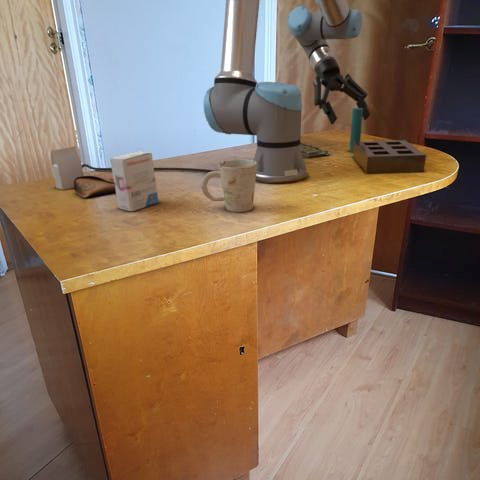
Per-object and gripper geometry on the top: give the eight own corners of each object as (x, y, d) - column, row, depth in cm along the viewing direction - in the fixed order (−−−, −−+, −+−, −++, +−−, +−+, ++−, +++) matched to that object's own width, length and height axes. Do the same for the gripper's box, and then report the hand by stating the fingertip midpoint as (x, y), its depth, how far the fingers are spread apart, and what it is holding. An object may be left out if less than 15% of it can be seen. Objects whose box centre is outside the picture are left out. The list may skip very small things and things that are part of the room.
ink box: (145, 199, 121) (138, 149, 115) (159, 202, 118) (153, 151, 113) (117, 208, 116) (109, 156, 110) (131, 212, 113) (123, 158, 107)
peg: (350, 152, 161) (353, 109, 154) (348, 150, 163) (351, 108, 157) (360, 152, 161) (363, 109, 154) (358, 150, 163) (361, 107, 157)
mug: (257, 213, 109) (257, 167, 104) (201, 215, 109) (197, 169, 104) (257, 202, 116) (256, 158, 111) (204, 203, 116) (201, 160, 111)
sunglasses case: (84, 197, 123) (75, 171, 123) (79, 206, 129) (71, 181, 129) (150, 185, 131) (142, 160, 131) (143, 193, 137) (135, 170, 137)
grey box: (85, 184, 136) (78, 147, 131) (62, 189, 132) (54, 151, 127) (78, 182, 139) (71, 145, 134) (56, 187, 135) (47, 149, 130)
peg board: (366, 173, 136) (367, 156, 134) (352, 156, 155) (354, 141, 153) (423, 171, 135) (426, 155, 133) (403, 155, 155) (405, 140, 152)
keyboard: (275, 147, 173) (275, 141, 172) (298, 144, 176) (298, 138, 175) (307, 158, 155) (307, 151, 154) (331, 155, 158) (332, 148, 157)
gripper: (298, 59, 155) (325, 115, 151) (360, 54, 165) (387, 107, 161) (289, 77, 162) (314, 131, 158) (349, 72, 172) (374, 122, 168)
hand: (351, 119), depth 160 cm, fingers open, 13 cm apart
